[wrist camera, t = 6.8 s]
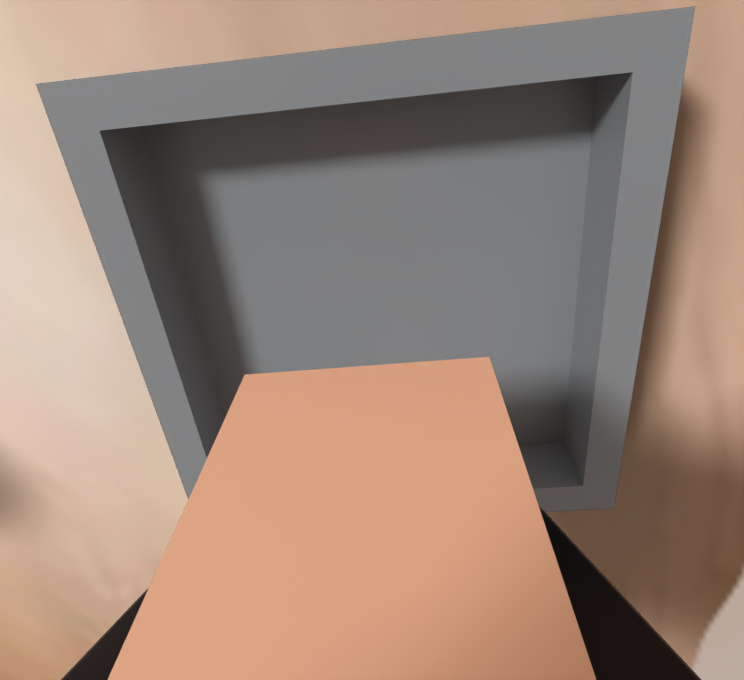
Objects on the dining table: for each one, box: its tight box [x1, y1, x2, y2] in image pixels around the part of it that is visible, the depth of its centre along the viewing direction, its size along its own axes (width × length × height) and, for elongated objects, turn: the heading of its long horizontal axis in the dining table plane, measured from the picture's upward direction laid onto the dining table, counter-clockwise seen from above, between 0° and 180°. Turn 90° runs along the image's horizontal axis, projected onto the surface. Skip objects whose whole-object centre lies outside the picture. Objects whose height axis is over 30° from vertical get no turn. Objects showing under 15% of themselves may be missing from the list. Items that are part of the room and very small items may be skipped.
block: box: [108, 357, 596, 680], centre depth 6 cm, size 4×4×7 cm
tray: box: [36, 6, 695, 512], centre depth 15 cm, size 13×13×3 cm
